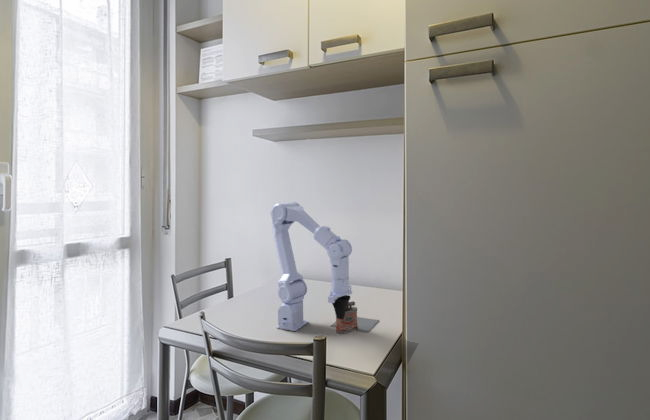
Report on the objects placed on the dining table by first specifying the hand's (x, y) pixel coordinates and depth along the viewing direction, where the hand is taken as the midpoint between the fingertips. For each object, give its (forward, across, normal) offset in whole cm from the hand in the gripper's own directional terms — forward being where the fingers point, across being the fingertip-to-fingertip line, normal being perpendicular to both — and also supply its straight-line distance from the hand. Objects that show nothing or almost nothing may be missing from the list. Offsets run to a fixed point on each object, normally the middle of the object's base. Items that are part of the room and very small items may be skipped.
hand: (340, 318), depth 121 cm
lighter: (+6, +6, 0) cm, 8 cm away
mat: (+6, +13, 0) cm, 15 cm away
